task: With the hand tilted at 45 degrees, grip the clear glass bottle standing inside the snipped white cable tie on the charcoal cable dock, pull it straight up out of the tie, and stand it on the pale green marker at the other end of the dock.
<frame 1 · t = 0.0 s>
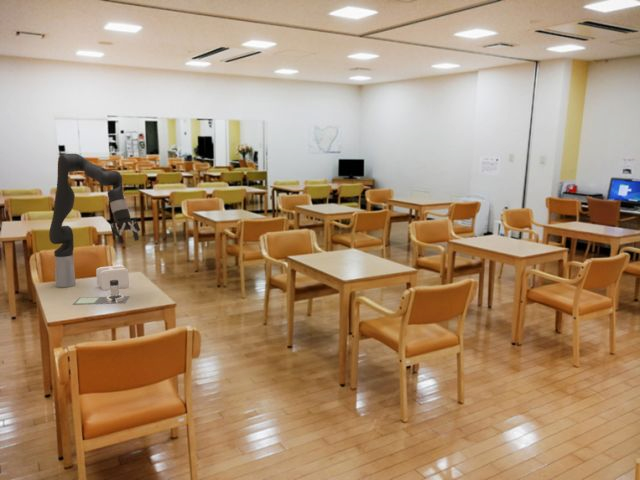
hand: (129, 241, 263), 31 cm above the table, tool tilted 20°, fingers open, 8 cm apart
clear glass bottle: (115, 299, 271), point 1 cm above the table, touching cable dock
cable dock: (102, 302, 271), on the table
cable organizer: (113, 288, 295), on the table
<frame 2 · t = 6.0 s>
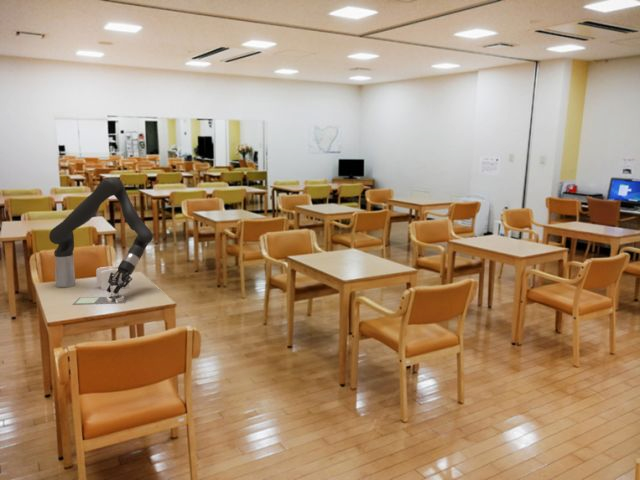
hand: (111, 292, 269), 6 cm above the table, tool tilted 45°, fingers closed on clear glass bottle, 4 cm apart
clear glass bottle: (115, 299, 271), point 1 cm above the table, touching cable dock, gripper
everything else where it was.
when the fingers open (7 cm above the table, at t = 12.0 s): clear glass bottle stays where it is, resting on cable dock.
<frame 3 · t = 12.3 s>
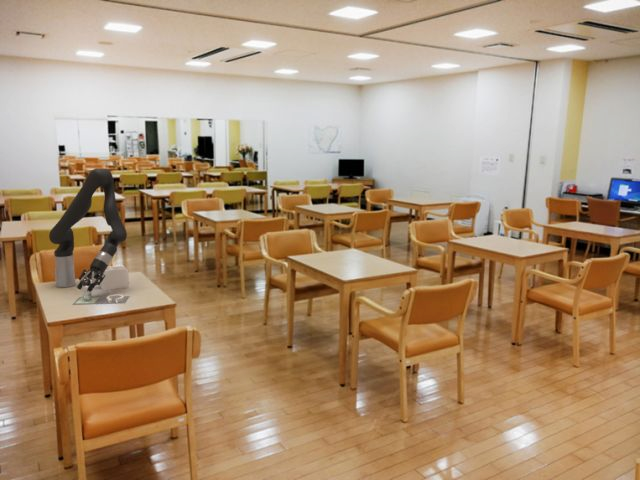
hand: (83, 289, 267), 7 cm above the table, tool tilted 45°, fingers open, 7 cm apart
clear glass bottle: (87, 300, 270), point 1 cm above the table, touching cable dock
everything else where it was.
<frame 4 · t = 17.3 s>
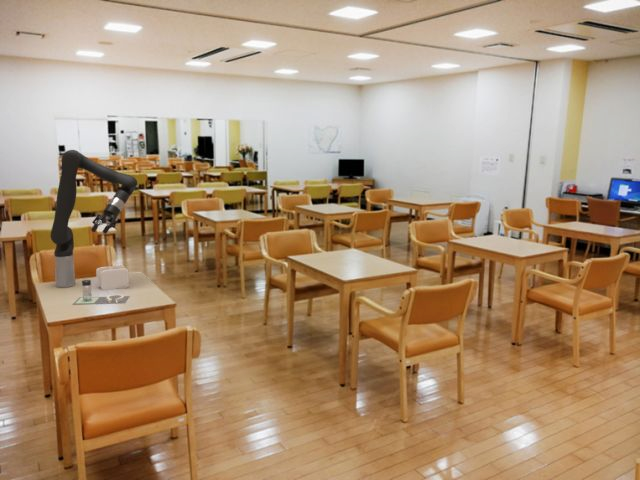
hand: (98, 232, 281), 33 cm above the table, tool tilted 45°, fingers open, 8 cm apart
nothing on the table moved.
at the end: clear glass bottle 0.1 cm from the target spot on the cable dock, point 1.2 cm above the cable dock's base; clear glass bottle tilted 1°; the gripper is holding nothing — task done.
